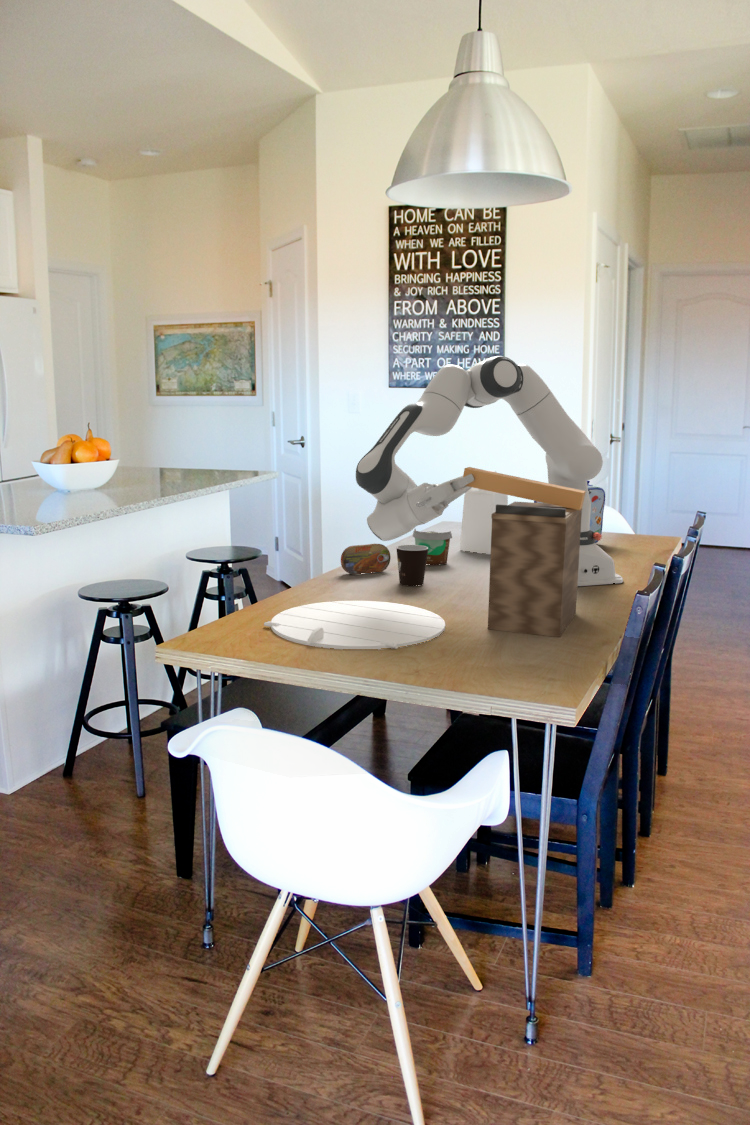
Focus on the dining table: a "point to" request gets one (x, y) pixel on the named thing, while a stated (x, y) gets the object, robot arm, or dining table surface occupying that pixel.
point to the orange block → (526, 488)
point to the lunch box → (595, 508)
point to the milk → (479, 519)
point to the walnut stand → (533, 568)
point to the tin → (365, 558)
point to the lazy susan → (357, 625)
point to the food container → (434, 545)
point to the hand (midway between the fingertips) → (476, 475)
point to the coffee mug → (411, 564)
